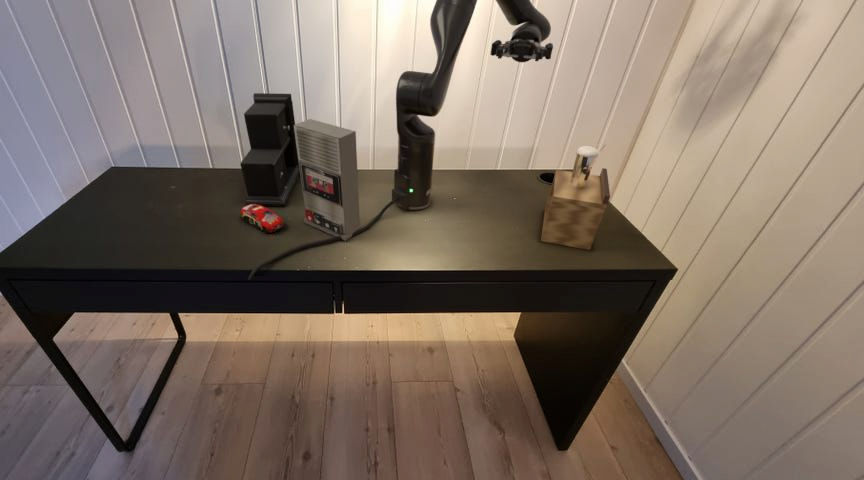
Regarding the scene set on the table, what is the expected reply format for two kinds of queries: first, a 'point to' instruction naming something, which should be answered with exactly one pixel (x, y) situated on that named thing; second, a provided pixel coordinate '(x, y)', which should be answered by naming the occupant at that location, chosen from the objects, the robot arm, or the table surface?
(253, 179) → the bookend
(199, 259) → the table surface
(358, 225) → the cassette tape recorder
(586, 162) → the milkshake
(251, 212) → the race car
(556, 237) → the block
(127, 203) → the table surface
